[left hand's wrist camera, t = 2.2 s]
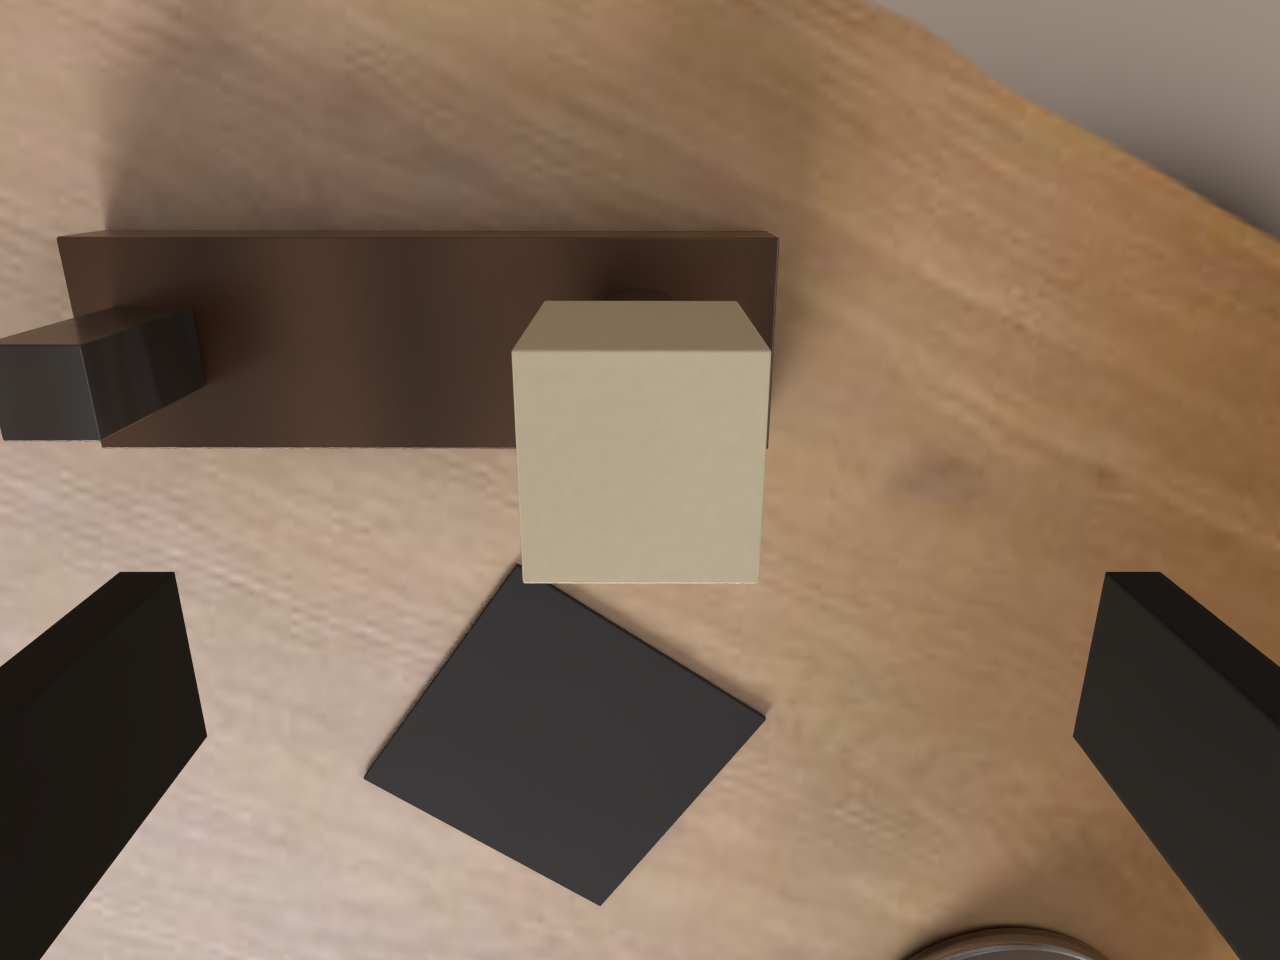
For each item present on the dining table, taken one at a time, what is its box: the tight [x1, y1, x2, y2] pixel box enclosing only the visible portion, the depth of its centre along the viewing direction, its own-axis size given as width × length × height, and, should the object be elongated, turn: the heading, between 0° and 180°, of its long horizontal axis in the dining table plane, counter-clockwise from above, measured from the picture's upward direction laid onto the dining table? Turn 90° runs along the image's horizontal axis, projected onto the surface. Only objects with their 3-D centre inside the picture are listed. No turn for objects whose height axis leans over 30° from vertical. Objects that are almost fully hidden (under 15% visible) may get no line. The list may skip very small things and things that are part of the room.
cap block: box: [512, 301, 771, 583], centre depth 23 cm, size 6×6×7 cm
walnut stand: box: [0, 231, 779, 449], centre depth 31 cm, size 26×8×10 cm, turn 90°
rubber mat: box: [364, 564, 766, 906], centre depth 43 cm, size 14×14×1 cm
